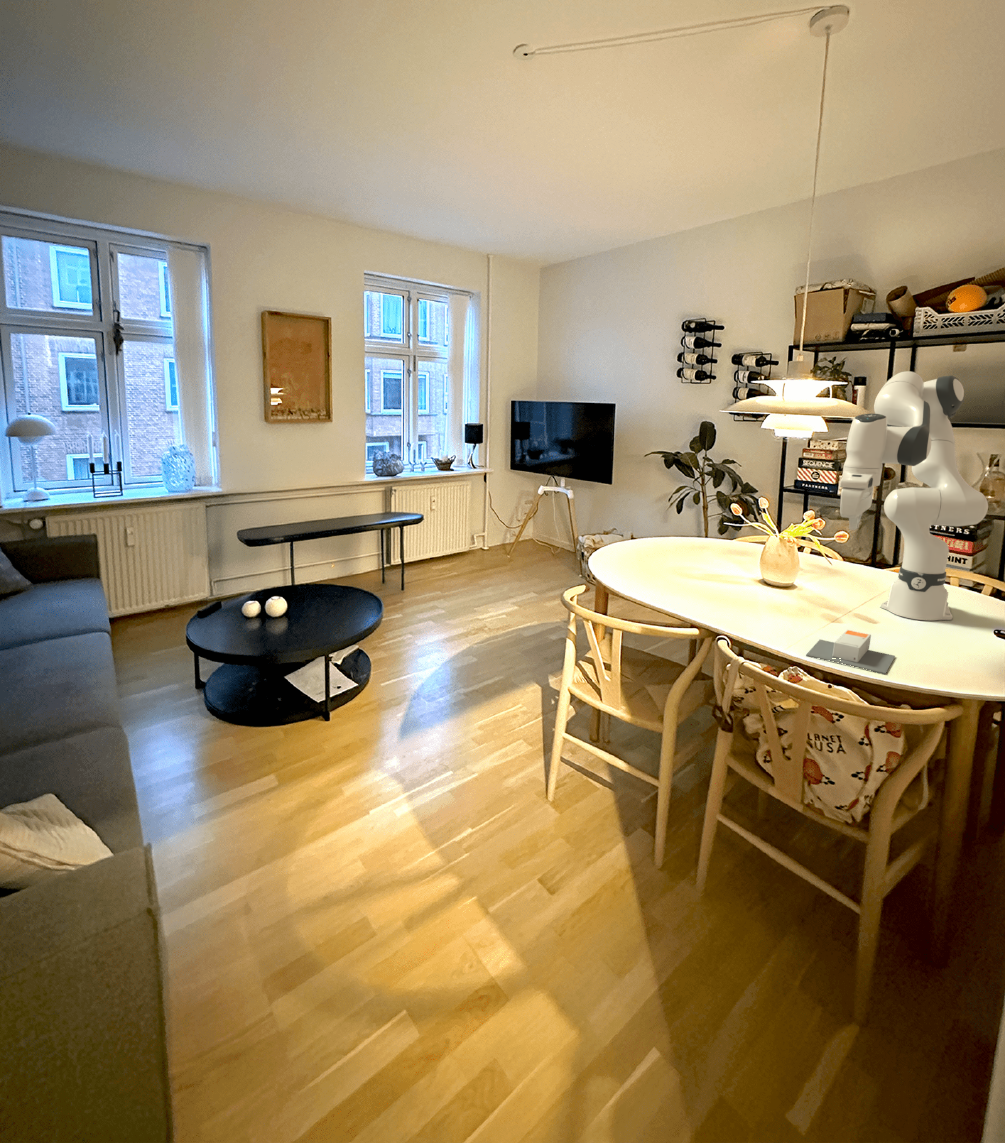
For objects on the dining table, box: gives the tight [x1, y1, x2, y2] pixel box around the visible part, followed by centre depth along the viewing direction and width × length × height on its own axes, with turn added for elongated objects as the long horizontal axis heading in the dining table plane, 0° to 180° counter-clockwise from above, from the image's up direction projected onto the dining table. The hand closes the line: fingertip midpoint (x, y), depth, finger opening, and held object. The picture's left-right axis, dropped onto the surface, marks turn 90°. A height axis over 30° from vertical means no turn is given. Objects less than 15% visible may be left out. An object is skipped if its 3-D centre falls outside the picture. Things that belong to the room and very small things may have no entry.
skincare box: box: [832, 629, 872, 662], centre depth 162 cm, size 6×4×12 cm
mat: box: [805, 639, 896, 675], centre depth 161 cm, size 14×18×1 cm
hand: (853, 529), depth 166 cm, fingers closed
